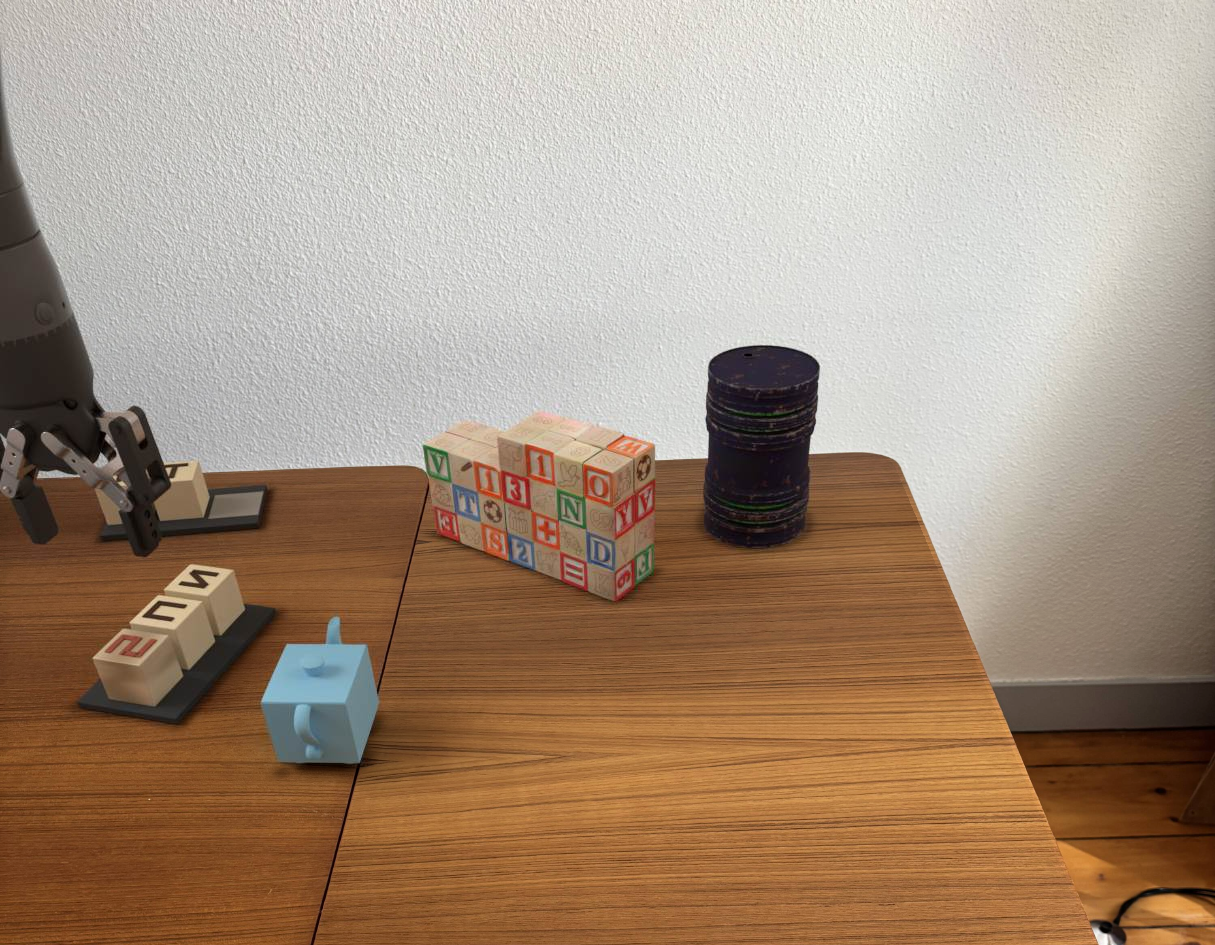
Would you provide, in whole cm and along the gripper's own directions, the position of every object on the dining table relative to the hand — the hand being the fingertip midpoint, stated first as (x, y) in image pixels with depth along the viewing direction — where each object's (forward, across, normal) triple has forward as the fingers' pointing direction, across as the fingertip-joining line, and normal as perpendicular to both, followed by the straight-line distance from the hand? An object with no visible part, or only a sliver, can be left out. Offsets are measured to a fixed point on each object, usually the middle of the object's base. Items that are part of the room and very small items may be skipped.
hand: (96, 545), depth 82 cm
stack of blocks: (+14, -24, -28) cm, 39 cm away
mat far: (+13, +13, -27) cm, 33 cm away
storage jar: (+14, -42, -38) cm, 58 cm away
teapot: (+14, -17, +1) cm, 22 cm away
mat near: (+13, 0, -5) cm, 14 cm away
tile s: (+13, 0, 0) cm, 13 cm away
